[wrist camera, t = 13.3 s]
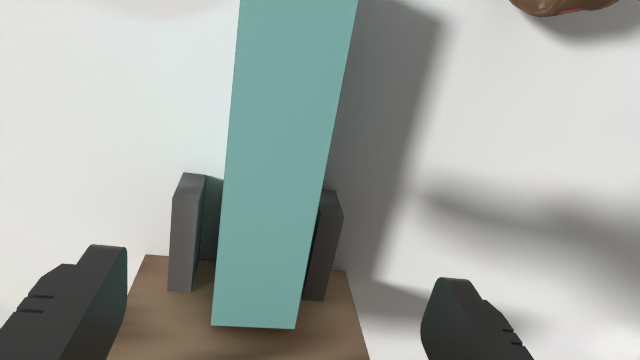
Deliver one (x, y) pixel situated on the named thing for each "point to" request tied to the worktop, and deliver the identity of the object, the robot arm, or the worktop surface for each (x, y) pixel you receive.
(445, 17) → the worktop surface
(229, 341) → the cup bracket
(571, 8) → the tin
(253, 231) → the rail
